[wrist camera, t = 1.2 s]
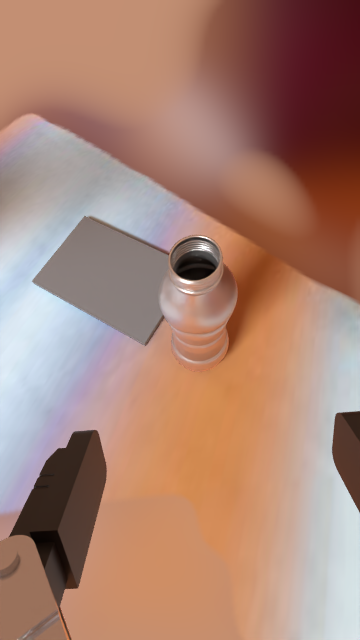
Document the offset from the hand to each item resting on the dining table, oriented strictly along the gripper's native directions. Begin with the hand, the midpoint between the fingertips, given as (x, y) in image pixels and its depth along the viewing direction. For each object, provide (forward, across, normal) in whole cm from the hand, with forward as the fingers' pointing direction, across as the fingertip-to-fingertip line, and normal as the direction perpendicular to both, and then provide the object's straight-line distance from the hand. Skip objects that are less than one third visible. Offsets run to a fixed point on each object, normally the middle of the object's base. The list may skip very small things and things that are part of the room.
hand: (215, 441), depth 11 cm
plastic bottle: (+27, 0, +11) cm, 29 cm away
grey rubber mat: (+35, +11, +3) cm, 37 cm away
